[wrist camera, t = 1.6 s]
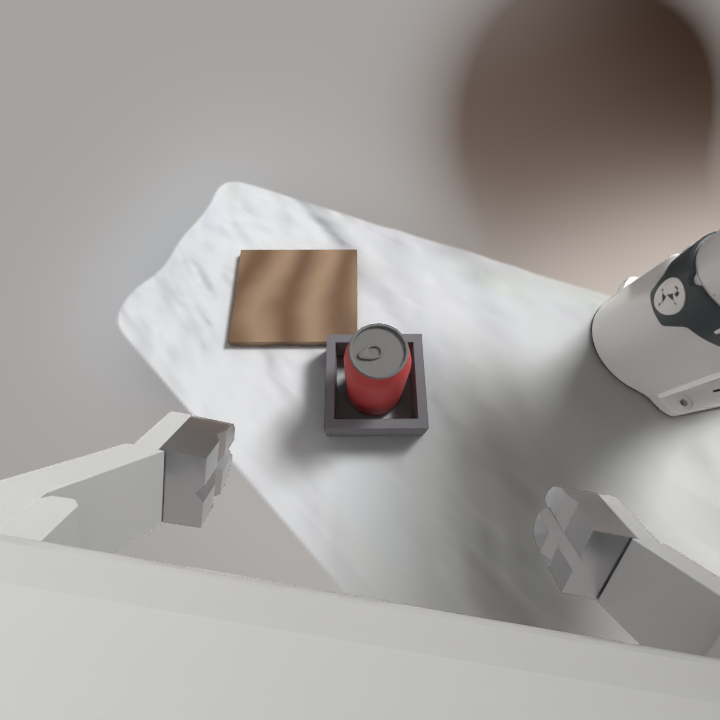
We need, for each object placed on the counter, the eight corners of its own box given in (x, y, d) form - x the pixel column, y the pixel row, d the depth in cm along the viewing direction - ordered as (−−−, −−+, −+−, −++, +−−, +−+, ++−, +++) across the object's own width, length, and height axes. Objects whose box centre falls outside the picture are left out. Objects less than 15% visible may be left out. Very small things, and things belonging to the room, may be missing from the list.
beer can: (340, 372, 46) (334, 327, 35) (391, 358, 47) (401, 310, 36) (355, 423, 44) (353, 392, 33) (408, 408, 44) (425, 373, 33)
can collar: (416, 348, 47) (421, 334, 44) (422, 435, 43) (428, 428, 40) (329, 348, 47) (326, 334, 44) (327, 435, 43) (324, 428, 39)
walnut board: (356, 254, 53) (356, 249, 52) (357, 344, 48) (357, 341, 47) (243, 254, 53) (241, 250, 52) (230, 345, 47) (228, 342, 47)
